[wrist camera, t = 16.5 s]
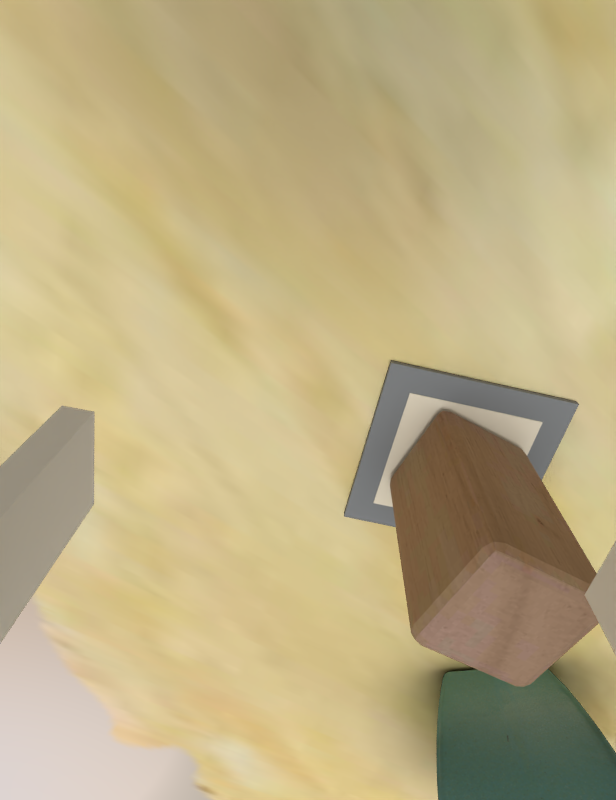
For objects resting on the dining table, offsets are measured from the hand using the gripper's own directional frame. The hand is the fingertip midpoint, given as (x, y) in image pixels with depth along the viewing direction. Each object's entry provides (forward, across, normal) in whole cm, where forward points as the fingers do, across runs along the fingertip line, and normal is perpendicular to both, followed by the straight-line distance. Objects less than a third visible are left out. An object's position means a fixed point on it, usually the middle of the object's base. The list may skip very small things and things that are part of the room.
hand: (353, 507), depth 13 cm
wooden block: (+36, +15, -19) cm, 43 cm away
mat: (+36, +15, -19) cm, 43 cm away
